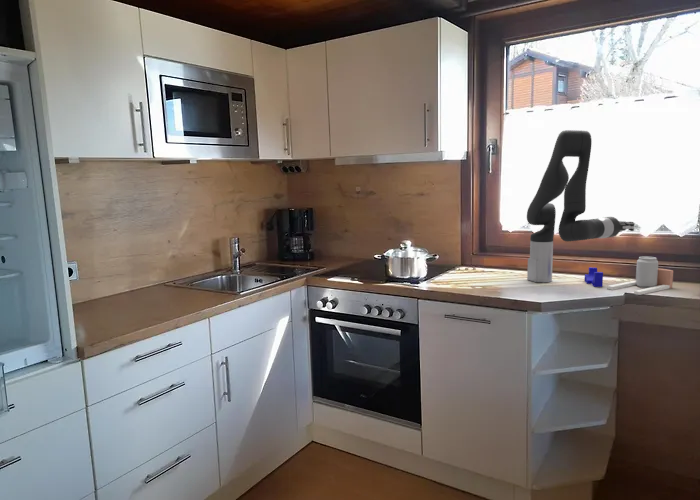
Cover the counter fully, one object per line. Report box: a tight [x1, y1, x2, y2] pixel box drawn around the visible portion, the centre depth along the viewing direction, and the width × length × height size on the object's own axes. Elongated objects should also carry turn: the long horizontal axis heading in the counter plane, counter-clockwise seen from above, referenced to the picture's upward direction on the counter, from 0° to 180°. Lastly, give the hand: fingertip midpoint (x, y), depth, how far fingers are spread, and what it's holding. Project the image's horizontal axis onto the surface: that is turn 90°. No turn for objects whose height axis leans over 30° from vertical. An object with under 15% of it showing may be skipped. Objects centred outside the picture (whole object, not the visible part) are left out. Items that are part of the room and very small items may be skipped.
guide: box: [606, 267, 674, 296], centre depth 205 cm, size 22×13×7 cm, turn 120°
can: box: [635, 255, 659, 289], centre depth 208 cm, size 8×8×12 cm
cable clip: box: [583, 267, 604, 288], centre depth 216 cm, size 12×4×6 cm, turn 166°
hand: (631, 224), depth 199 cm, fingers closed
